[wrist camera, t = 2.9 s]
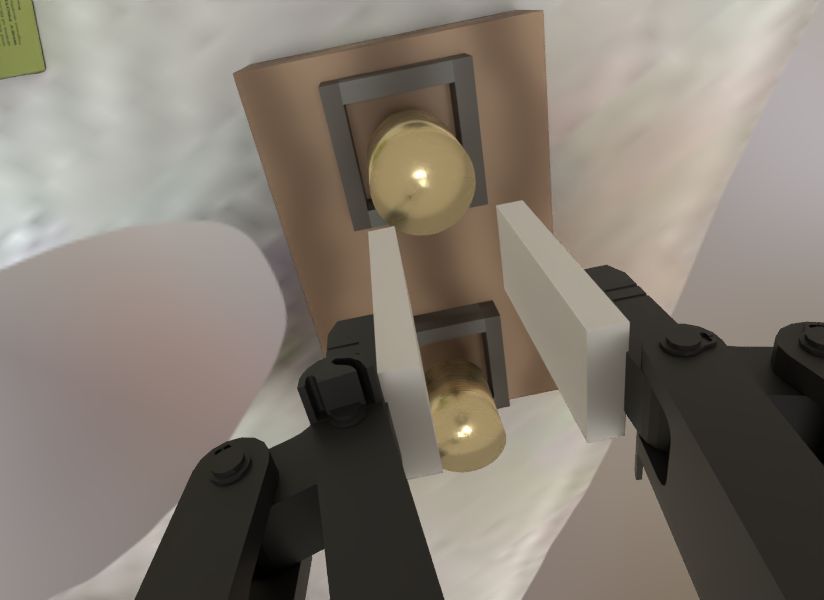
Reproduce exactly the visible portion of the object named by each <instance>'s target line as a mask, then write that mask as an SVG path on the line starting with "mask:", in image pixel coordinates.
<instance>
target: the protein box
mask: <svg viewBox="0 0 824 600" xmlns="http://www.w3.org/2000/svg"><path fill="white" fill-rule="evenodd" d="M44 70H45V65H44V60H43V55H42V50H41V45H40V40H39V35H38V30H37V25H36V20H35V15H34V11H33V6H32V0H0V79H5V78H11V77H16V76H22V75H28V74H37V73H41V72H44Z"/></svg>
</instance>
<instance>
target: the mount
mask: <svg viewBox="0 0 824 600" xmlns="http://www.w3.org/2000/svg"><path fill="white" fill-rule="evenodd" d="M233 76H234V79H235V82H236V85H237V88H238V92H239V95H240V98H241V101H242V104H243V107H244V110H245V113H246V116H247V119H248V122H249V125H250V129H251V132H252V135H253V138H254V141H255V144H256V147H257V150H258V153H259V156H260V159H261V162H262V166H263V169H264V172H265V175H266V178H267V181H268V184H269V187H270V190H271V193H272V196H273V199H274V202H275V206H276V209H277V212H278V215H279V218H280V221H281V224H282V227H283V230H284V233H285V236H286V239H287V243H288V246H289V249H290V252H291V255H292V258H293V261H294V264H295V267H296V270H297V273H298V276H299V279H300V283H301V286H302V289H303V292H304V295H305V298H306V301H307V304H308V307H309V310H310V313H311V316H312V320H313V323H314V326H315V329H316V332H317V335H318V338H319V341H320V344H321V347H322V350H323V353H324V357H325V358H326V351H327V338H328V334H329V332H330V331H331V329H332V328H333V327H334V325H335V324H336V322H337V321H341V320H346V319H351V318H356V317H361V316H365V315H370V314H373V299H372V283H371V267H370V252H369V236H368V231H373V230H378V229H383V228H388V227H391V226H390V225H389V224H387V223H386V222H385V221H384V220H383V219H382V217H381V216H380V215H379V213H378V212H377V210H376V209H375V206H374V204H373V201H372V198H371V193H370V183H369V172H368V161H367V151H368V145H369V141H370V139H371V136H372V134H373V132H374V131H375V129H376V128H377V126H378V125H379V124H380V123H381V122H382V121H383V120H385V119H386V118H387V117H389V116H390V115H392V114H394V113H397V112H400V111H404V110H421V111H424V112H428V113H430V114H432V115H434V116H435V117H437V118H438V119H439V120H441V121H442V122H443V123H444V124H445V125H446V127H447V128H448V129H449V130H450V132H451V133H452V134H453V136H454V137H455V138H456V139H457V141H458V142H459V143H460V144H461V146H462V147H463V148H464V150H465V151H466V152H467V154H468V155H469V157H470V159H471V161H472V164H473V167H474V171H475V178H476V185H475V192H474V196H473V199H472V202H471V204H470V206H469V208H468V209H467V211H466V212H465V214H464V215H463V216H462V217H461V218H460V219H459V220H458V221H457V222H456V223H455V224H454V225H452V226H451V227H449V228H447V229H446V230H444V231H441V232H439V233H435V234H431V235H421V236H418V235H410V234H406V233H403V232H401V231H398V230H396V229H395V231H396V236H397V241H398V246H399V251H400V255H401V260H402V265H403V270H404V275H405V279H406V284H407V289H408V294H409V299H410V304H411V308H412V314H413V319H414V324H415V329H416V334H417V340H418V345H419V350H420V355H421V360H422V366H423V371H424V373H425V372H426V371H427V370H428V369H429V368H431V367H432V366H434V365H435V364H437V363H440V362H442V361H446V360H451V359H461V360H466V361H470V362H472V363H474V364H475V365H477V366H478V367H479V368H480V369H481V370H482V371H483V373H484V375H485V378H486V380H487V383H488V386H489V389H490V392H491V394H492V397H493V400H494V403H495V406H496V408H497V409H499V408H503V407H508V406H510V403H509V399H513V398H518V397H523V396H528V395H533V394H538V393H543V392H548V391H553V390H558V387H557V385H556V384H555V382H554V380H553V378H552V376H551V374H550V372H549V371H548V369H547V367H546V365H545V363H544V361H543V359H542V358H541V356H540V354H539V352H538V350H537V348H536V346H535V345H534V343H533V341H532V339H531V337H530V335H529V333H528V332H527V330H526V328H525V326H524V324H523V322H522V320H521V319H520V317H519V315H518V313H517V311H516V309H515V307H514V306H513V304H512V302H511V300H510V298H509V296H508V294H507V293H506V291H505V289H504V280H503V270H502V260H501V250H500V240H499V230H498V220H497V210H496V205H501V204H506V203H511V202H516V201H520V200H523V201H524V203H525V204H526V205H527V206H528V207H529V208H530V209H531V211H532V212H533V213H534V214H535V215H536V216H537V217H538V218H539V220H540V221H541V222H542V223H543V224H544V225H545V226H546V228H547V229H548V230H549V231H550V232H551V233H552V234H553V226H552V202H551V179H550V155H549V132H548V108H547V85H546V61H545V38H544V14H543V10H515V11H510V12H505V13H500V14H495V15H491V16H486V17H481V18H476V19H471V20H466V21H461V22H456V23H451V24H447V25H442V26H437V27H432V28H427V29H422V30H417V31H412V32H407V33H403V34H398V35H393V36H388V37H383V38H378V39H373V40H368V41H364V42H359V43H354V44H349V45H344V46H339V47H334V48H329V49H324V50H320V51H315V52H310V53H305V54H300V55H295V56H290V57H285V58H281V59H276V60H271V61H266V62H261V63H256V64H251V65H249V66H247V67H245V68H243V69H241V70H239V71H237V72H235V73H234V74H233Z"/></svg>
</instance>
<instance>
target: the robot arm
mask: <svg viewBox="0 0 824 600" xmlns="http://www.w3.org/2000/svg"><path fill="white" fill-rule="evenodd" d="M496 210H497V220H498V230H499V240H500V250H501V260H502V270H503V280H504V289H505V291H506V293H507V294H508V296H509V298H510V300H511V302H512V304H513V306H514V307H515V309H516V311H517V313H518V315H519V317H520V319H521V320H522V322H523V324H524V326H525V328H526V330H527V332H528V333H529V335H530V337H531V339H532V341H533V343H534V345H535V346H536V348H537V350H538V352H539V354H540V356H541V358H542V359H543V361H544V363H545V365H546V367H547V369H548V371H549V372H550V374H551V376H552V378H553V380H554V382H555V384H556V385H557V387H558V389H559V391H560V393H561V395H562V397H563V398H564V400H565V402H566V404H567V406H568V408H569V410H570V411H571V413H572V415H573V417H574V419H575V421H576V423H577V424H578V426H579V428H580V430H581V432H582V434H583V436H584V437H585V439H586V441H587V443H591V442H596V441H601V440H606V439H611V438H616V437H620V436H625V421H626V414H627V416H628V418H629V419H630V421H631V422H632V424H633V425H634V427H635V428H636V429H637V437H636V455H635V477H636V480H640V479H642V470H643V466H644V469H645V471H646V474H647V476H648V478H649V480H650V483H651V485H652V487H653V490H654V492H655V495H656V497H657V499H658V501H659V504H660V507H661V509H662V511H663V514H664V516H665V518H666V520H667V523H668V525H669V528H670V530H671V532H672V535H673V537H674V540H675V542H676V544H677V546H678V549H679V551H680V554H681V556H682V558H683V561H684V563H685V565H686V568H687V570H688V573H689V575H690V577H691V580H692V582H693V584H694V587H695V589H696V591H697V594H698V596H699V598H700V600H824V323H821V322H817V323H816V322H802V323H795V324H790V325H788V326H786V327H783V328H781V329H780V330H779V332H778V334H777V335H776V337H775V342H774V347H735V346H727V345H726V344H725V343H724V342H723V340H722V339H720V338H719V337H718V336H717V335H716V334H714V333H713V332H711V331H708V330H706V329H704V328H701V327H699V326H693V325H688V324H677V323H676V322H675V321H674V320H673V319H672V318H671V317H670V316H669V315H668V314H667V313H666V312H665V311H664V310H663V309H662V308H661V307H660V306H659V305H658V304H657V303H656V302H655V301H654V300H653V299H652V298H651V297H650V296H649V295H646V293H645V292H644V291H643V290H642V289H641V288H640V287H639V286H637V284H636V283H635V282H634V281H633V280H632V279H631V278H630V277H629V276H628V275H627V274H626V273H625V272H622V271H620V270H618V269H615V268H613V267H611V266H608V265H604V266H599V267H594V268H589V269H583V268H582V267H581V266H580V265H579V264H578V263H577V262H576V260H575V259H574V258H573V257H572V256H571V255H570V254H569V252H568V251H567V250H566V249H565V248H564V247H563V246H562V245H561V243H560V242H559V241H558V240H557V239H556V238H555V237H554V235H553V234H552V233H551V232H550V231H549V230H548V229H547V228H546V226H545V225H544V224H543V223H542V222H541V221H540V220H539V218H538V217H537V216H536V215H535V214H534V213H533V212H532V211H531V209H530V208H529V207H528V206H527V205H526V204H525V203H524V201H523V200H520V201H516V202H511V203H506V204H501V205H496ZM368 236H369V252H370V267H371V283H372V299H373V314H370V315H365V316H361V317H356V318H351V319H346V320H341V321H337V322H336V324H335V325H334V327H333V328H332V329H331V331H330V332H329V334H328V338H327V351H326V358H325V359H322V360H320V361H318V362H316V363H315V364H313V365H312V366H311V367H309V368H308V369H307V370H306V371H305V372H304V373H303V375H302V376H301V377H300V379H299V383H298V387H297V389H298V392H299V394H300V397H301V400H302V402H303V405H304V408H305V411H306V413H307V416H308V419H309V421H310V424H311V425H310V426H309V427H308V428H307V429H306V430H304V431H303V432H302V433H300V434H299V435H297V436H295V437H293V438H292V439H290V440H288V441H285V442H283V443H281V444H279V445H277V446H274V447H272V448H270V449H268V448H267V446H266V444H265V443H264V442H263V441H260V440H258V439H256V438H238V439H234V440H231V441H227V442H225V443H223V444H221V445H220V446H218V447H216V448H214V449H212V450H211V451H210V452H209V453H208V454H207V455H205V456H204V457H203V458H202V459H201V460H200V462H199V463H198V464H197V466H196V467H195V469H194V470H193V472H192V474H191V476H190V478H189V481H188V483H187V485H186V487H185V490H184V492H183V494H182V496H181V498H180V500H179V503H178V505H177V507H176V509H175V511H174V514H173V516H172V518H171V520H170V522H169V525H168V527H167V529H166V531H165V534H164V536H163V538H162V540H161V542H160V545H159V547H158V549H157V551H156V553H155V556H154V558H153V560H152V562H151V564H150V567H149V569H148V571H147V573H146V575H145V578H144V580H143V582H142V584H141V586H140V589H139V591H138V593H137V595H136V597H135V600H305V597H306V591H307V585H308V579H309V573H310V567H311V561H312V555H313V554H315V553H317V552H319V551H321V550H323V549H325V557H326V566H327V575H328V584H329V593H330V600H444V597H443V594H442V590H441V587H440V584H439V581H438V578H437V574H436V571H435V568H434V565H433V562H432V558H431V555H430V552H429V549H428V546H427V542H426V539H425V536H424V533H423V529H422V526H421V523H420V520H419V517H418V513H417V510H416V507H415V504H414V501H413V497H412V494H411V491H410V488H409V485H408V481H407V480H408V479H413V478H418V477H423V476H428V475H433V474H438V473H443V470H442V465H441V459H440V454H439V449H438V444H437V438H436V433H435V428H434V423H433V418H432V412H431V407H430V402H429V397H428V392H427V386H426V381H425V376H424V371H423V366H422V360H421V355H420V350H419V345H418V340H417V334H416V329H415V324H414V319H413V314H412V308H411V304H410V299H409V294H408V289H407V284H406V279H405V275H404V270H403V265H402V260H401V255H400V251H399V246H398V241H397V236H396V231H395V226H393V227H388V228H383V229H378V230H373V231H368Z"/></svg>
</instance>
